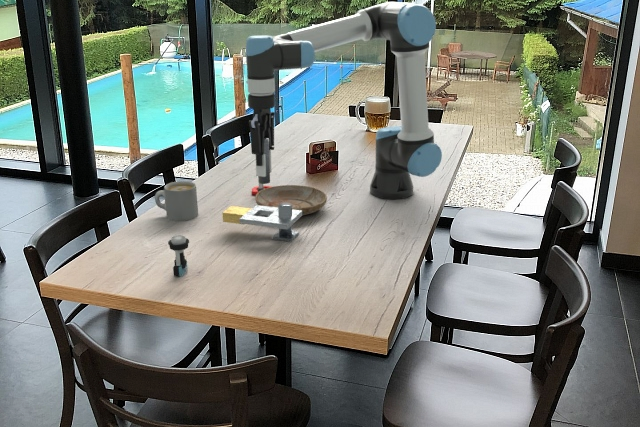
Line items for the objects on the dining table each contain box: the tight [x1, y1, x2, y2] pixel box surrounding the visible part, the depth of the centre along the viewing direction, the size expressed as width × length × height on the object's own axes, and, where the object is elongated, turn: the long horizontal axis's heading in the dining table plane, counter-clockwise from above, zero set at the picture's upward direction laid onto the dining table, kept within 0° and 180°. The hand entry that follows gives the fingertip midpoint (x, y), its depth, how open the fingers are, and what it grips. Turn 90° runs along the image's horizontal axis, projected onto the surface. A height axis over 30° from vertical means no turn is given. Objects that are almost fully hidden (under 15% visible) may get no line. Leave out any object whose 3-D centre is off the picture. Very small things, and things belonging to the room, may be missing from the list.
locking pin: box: [257, 137, 271, 185], centre depth 198 cm, size 3×3×13 cm
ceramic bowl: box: [254, 184, 328, 216], centre depth 225 cm, size 23×24×5 cm
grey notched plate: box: [222, 203, 303, 243], centre depth 205 cm, size 22×12×10 cm, turn 71°
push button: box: [167, 234, 190, 277], centre depth 180 cm, size 7×5×10 cm
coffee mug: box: [154, 180, 199, 222], centre depth 220 cm, size 13×10×10 cm
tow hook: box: [251, 182, 273, 196], centre depth 241 cm, size 8×13×9 cm
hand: (264, 173), depth 199 cm, fingers closed on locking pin, 3 cm apart
